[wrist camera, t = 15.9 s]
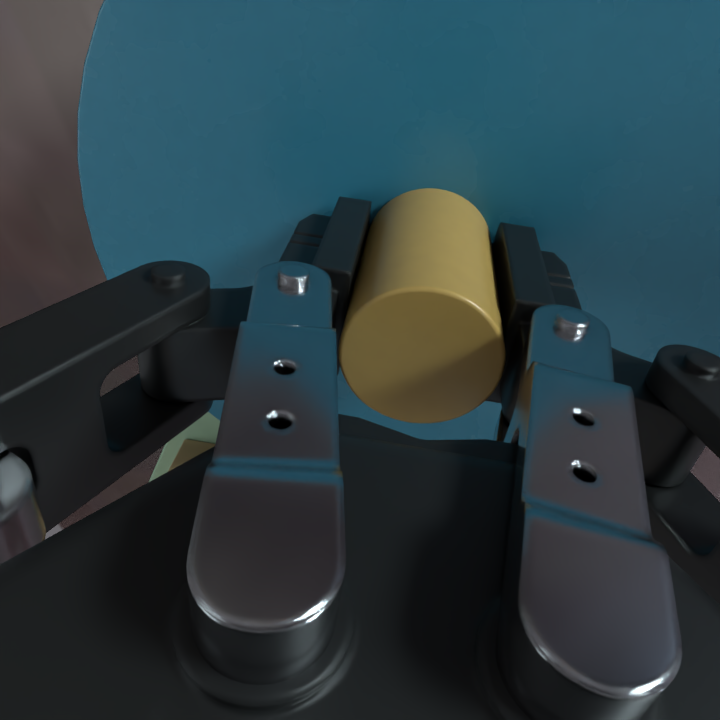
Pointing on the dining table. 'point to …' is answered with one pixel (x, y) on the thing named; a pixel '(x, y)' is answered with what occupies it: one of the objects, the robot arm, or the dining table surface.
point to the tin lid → (418, 168)
